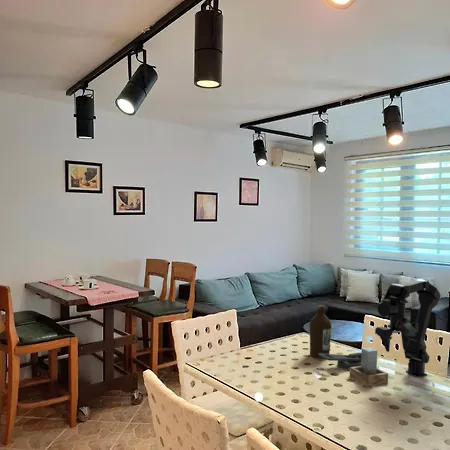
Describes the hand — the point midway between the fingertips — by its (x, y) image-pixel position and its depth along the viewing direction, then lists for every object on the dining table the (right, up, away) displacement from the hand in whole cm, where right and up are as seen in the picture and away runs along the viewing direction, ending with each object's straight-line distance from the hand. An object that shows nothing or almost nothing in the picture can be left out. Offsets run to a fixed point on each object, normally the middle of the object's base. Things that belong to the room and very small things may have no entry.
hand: (396, 350), depth 179 cm
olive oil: (-26, -12, +31) cm, 42 cm away
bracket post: (-11, -12, +2) cm, 16 cm away
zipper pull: (-18, -13, +16) cm, 27 cm away
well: (-11, -13, +2) cm, 17 cm away
